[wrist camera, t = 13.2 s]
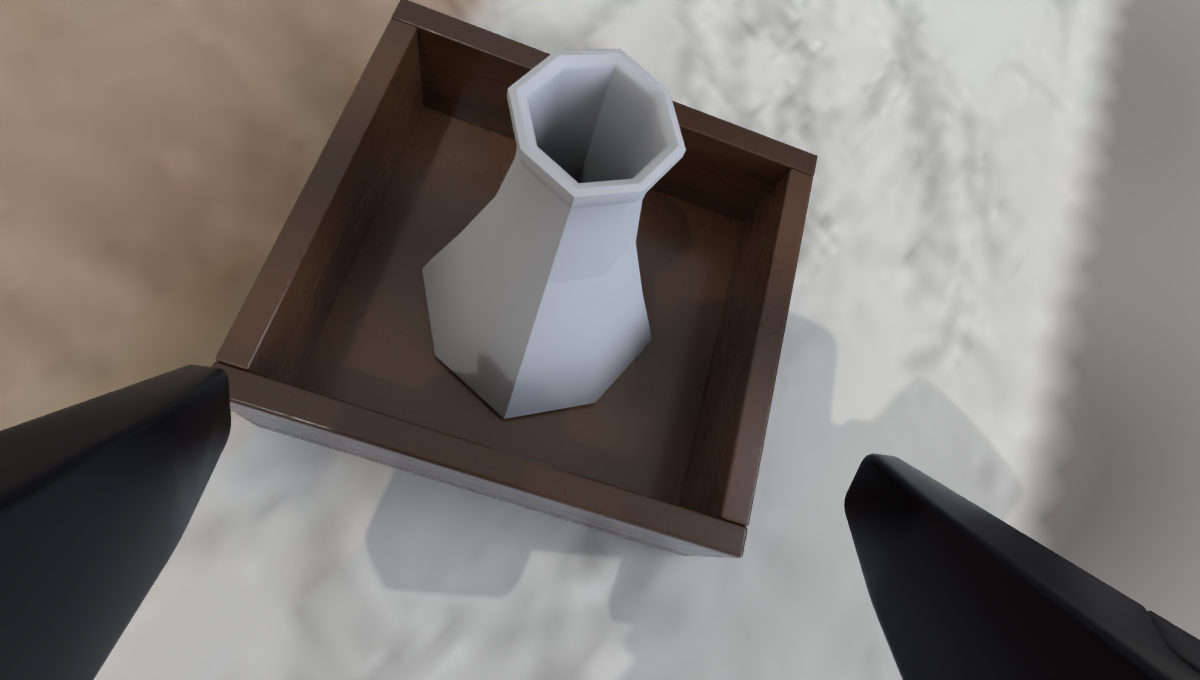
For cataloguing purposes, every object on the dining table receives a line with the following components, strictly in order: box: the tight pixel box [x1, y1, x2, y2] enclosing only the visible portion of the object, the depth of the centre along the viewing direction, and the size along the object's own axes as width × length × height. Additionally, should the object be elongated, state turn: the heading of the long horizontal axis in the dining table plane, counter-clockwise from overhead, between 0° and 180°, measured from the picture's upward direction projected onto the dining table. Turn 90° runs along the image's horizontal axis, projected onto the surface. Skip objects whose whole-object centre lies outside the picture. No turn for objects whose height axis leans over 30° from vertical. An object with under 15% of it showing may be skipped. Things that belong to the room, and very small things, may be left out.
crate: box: [212, 0, 817, 558], centre depth 20 cm, size 13×14×4 cm
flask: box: [422, 49, 686, 419], centre depth 16 cm, size 7×7×10 cm
